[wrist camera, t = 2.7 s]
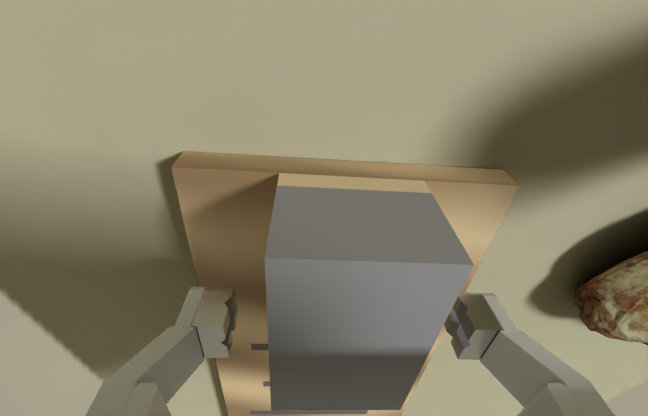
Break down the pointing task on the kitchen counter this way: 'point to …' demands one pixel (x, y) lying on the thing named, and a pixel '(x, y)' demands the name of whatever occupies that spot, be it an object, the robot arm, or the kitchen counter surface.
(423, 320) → the block
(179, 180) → the board
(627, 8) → the kitchen counter surface
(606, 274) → the oyster shell
